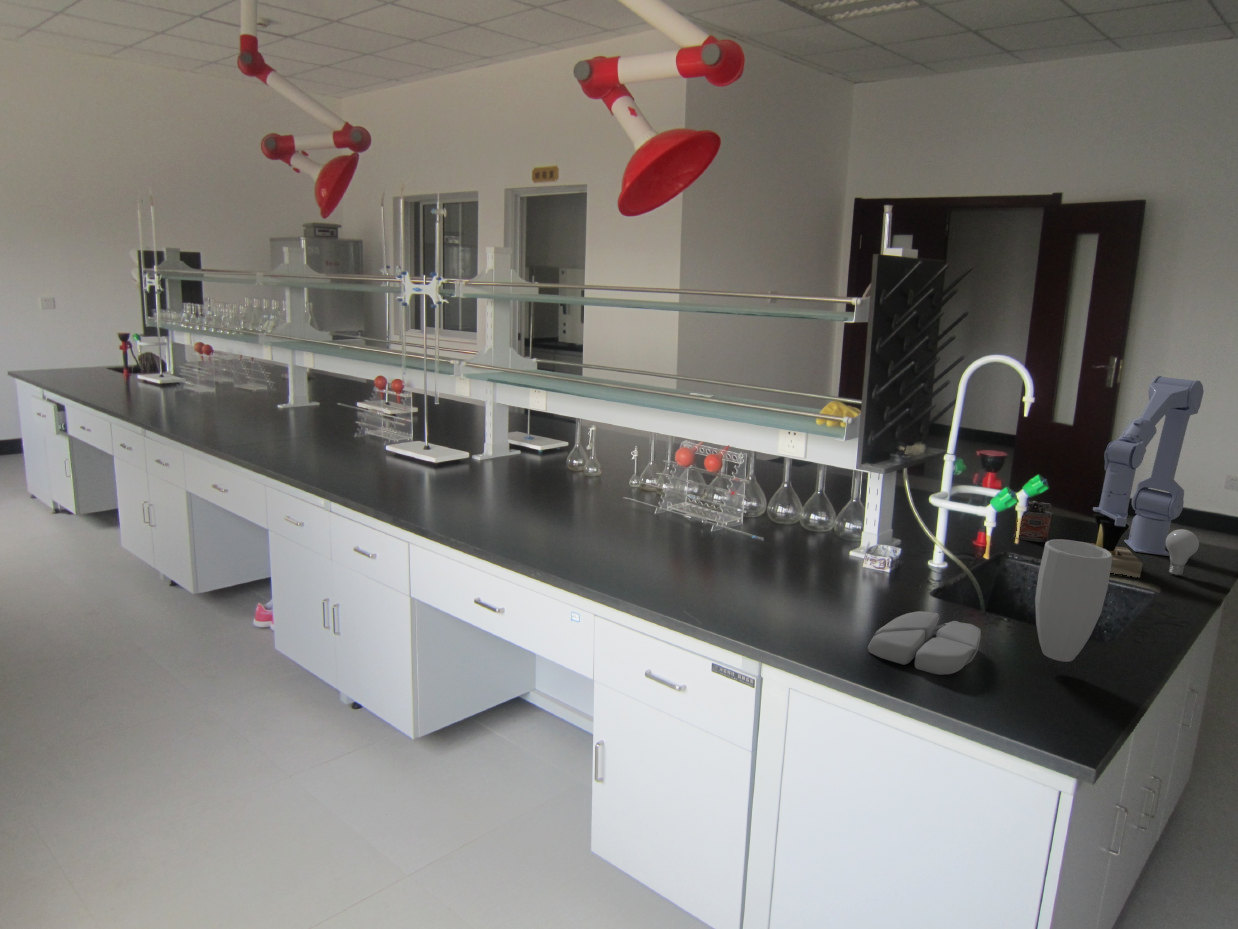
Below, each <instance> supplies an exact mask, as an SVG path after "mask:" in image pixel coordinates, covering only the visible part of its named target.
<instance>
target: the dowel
mask: <svg viewBox="0 0 1238 929" xmlns="http://www.w3.org/2000/svg"><path fill="white" fill-rule="evenodd" d="M1095 544H1096V546H1098V547H1101V548H1103V529H1102V525H1101V524H1100V528H1099V533H1098V538H1097V540H1096V543H1095ZM1116 547H1117V546H1116ZM1116 547H1115V549H1116ZM1115 549H1114V551H1109V552H1110V553H1111V554H1112V555H1114V554H1115Z"/></svg>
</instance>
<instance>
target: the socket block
mask: <svg viewBox="0 0 1238 929" xmlns="http://www.w3.org/2000/svg"><path fill="white" fill-rule="evenodd" d="M1083 542H1084V541H1083ZM1084 543H1086V541H1085V542H1084ZM1087 543H1088V544H1091V545H1095V546H1096V543H1094V542H1093V543H1091V542H1087ZM1143 564H1144V563H1143V562H1142V561H1141V560H1140V558H1138V557H1137V556H1136V555H1134V553H1133V552H1132V551H1131V550H1130V549H1129V548H1128V547H1123V546H1116V549H1115V554H1114V555H1112V564H1111V570H1110V573H1114V574H1113V575H1115V574H1123V575H1127V576H1126V577H1130V576H1132V578H1137V577H1138V578H1139V579H1140V578H1141V574H1142V569H1143Z"/></svg>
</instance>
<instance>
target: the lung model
mask: <svg viewBox="0 0 1238 929" xmlns="http://www.w3.org/2000/svg"><path fill="white" fill-rule="evenodd" d="M939 620H940V614H939V612H931V611H923V610H921V611H920V610H919V611H913V612H908V613H905V614H902V615H900V616H897V617H895V618H894V619H892V620H891V621H889V622H888V623H886V624H885V625H884V626H882V627H880V628H879V629H877V630H876V631H875V633H874V635H873V637H872V638H871V639H870V642H869V644H868V645H867V649H868V652H869V653H870V654H872V655H874V656H875V657H878V658H880V659H884V660H886V661H889V662H893V663H896V664H900V665H904V666H905V665H907V664H909V663H911V662H912V660H913V659H914V668H915V669H916V670H919V671H923V672H927V673H928V674H929V673H930V674H933V675H938V676H939V675H940V676H943V675H944V676H945V675H952V674H955V673H957V672H960V671H961V670H962V669H963V668H964V667H965V666H967V665H968V664H969V663H972V662H973V660H974V658H975V656H976V655H977V653H978V650H979V647H980V643H981V639H982V637H981V636H982V635H981V629H980V627H978V626H976V625H974V624H972V623H966V622H960V621H958V620H952V621H949V622H945V623H942V624H939ZM935 632H936V635H935V637H933V635H934V633H935Z"/></svg>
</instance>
